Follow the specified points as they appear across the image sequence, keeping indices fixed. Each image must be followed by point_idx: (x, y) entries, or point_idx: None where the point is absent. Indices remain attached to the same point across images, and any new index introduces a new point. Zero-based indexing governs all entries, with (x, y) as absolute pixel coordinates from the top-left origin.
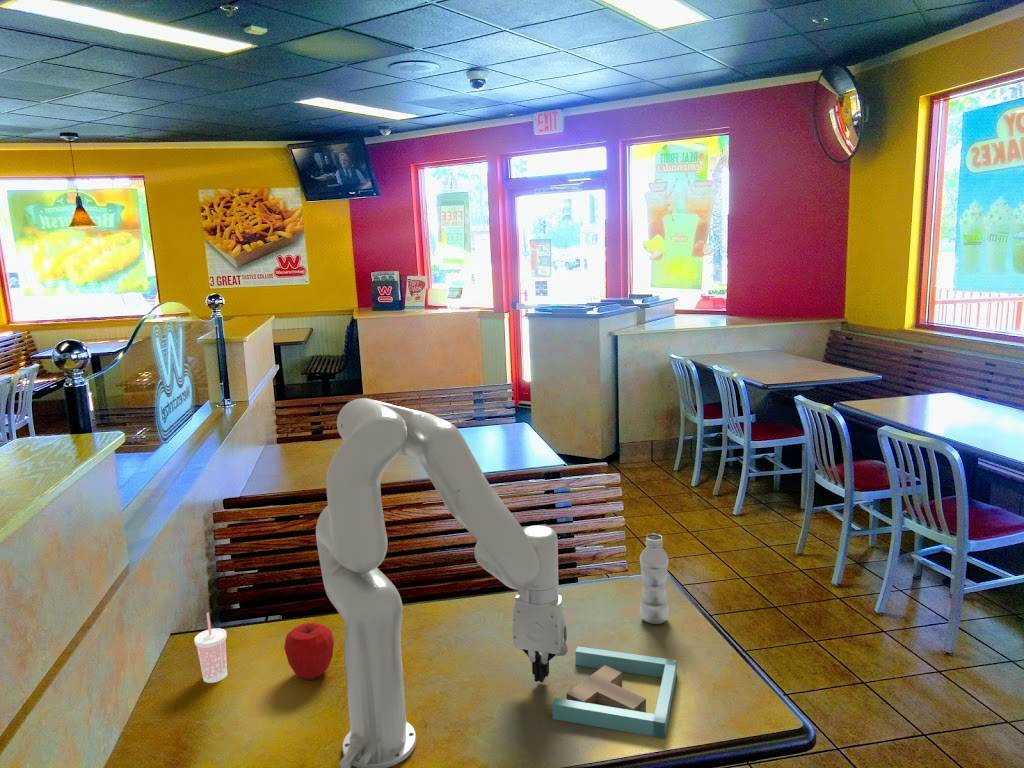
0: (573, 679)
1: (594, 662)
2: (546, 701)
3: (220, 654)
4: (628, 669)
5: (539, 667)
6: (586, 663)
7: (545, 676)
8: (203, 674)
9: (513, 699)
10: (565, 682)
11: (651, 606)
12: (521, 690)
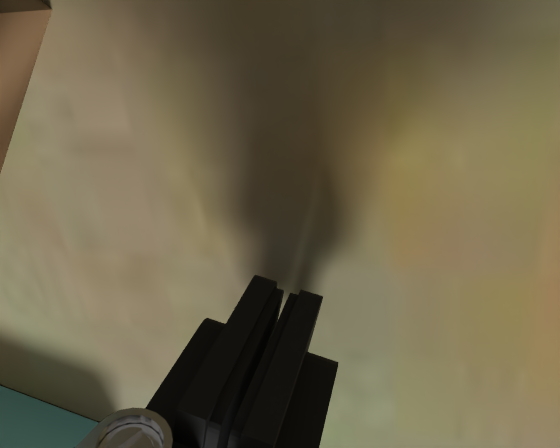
0: (102, 323)
1: (8, 422)
2: (221, 87)
3: None
4: None
5: (223, 385)
6: (57, 426)
7: (223, 323)
8: None
9: (538, 103)
10: (138, 302)
11: None
12: (448, 236)
